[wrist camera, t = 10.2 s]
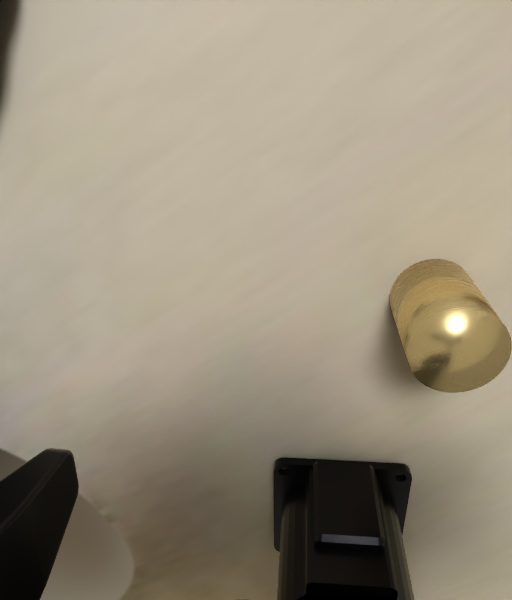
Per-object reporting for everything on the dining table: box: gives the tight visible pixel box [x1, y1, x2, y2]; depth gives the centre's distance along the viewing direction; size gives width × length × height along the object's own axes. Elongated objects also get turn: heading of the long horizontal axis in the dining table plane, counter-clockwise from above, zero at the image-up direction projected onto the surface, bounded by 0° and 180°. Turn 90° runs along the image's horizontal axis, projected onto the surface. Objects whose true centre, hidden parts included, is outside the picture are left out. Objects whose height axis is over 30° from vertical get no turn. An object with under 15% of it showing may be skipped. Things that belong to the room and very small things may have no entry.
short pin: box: [390, 259, 511, 392], centre depth 18 cm, size 3×3×4 cm
